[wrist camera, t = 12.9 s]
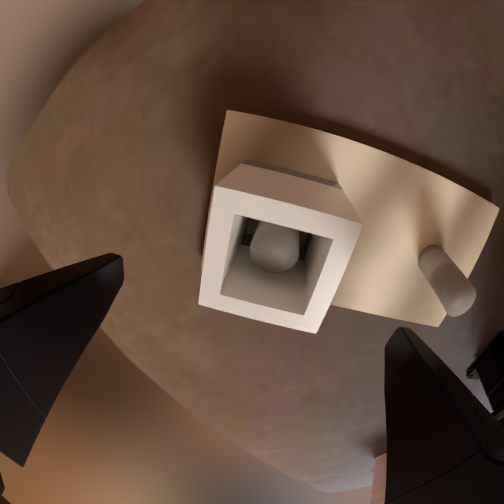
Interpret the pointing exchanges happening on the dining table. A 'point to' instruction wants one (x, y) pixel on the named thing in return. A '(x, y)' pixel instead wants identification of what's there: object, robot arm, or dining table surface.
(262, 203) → the sleeve
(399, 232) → the pin board
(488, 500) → the robot arm
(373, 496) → the smoothie
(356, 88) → the dining table surface
